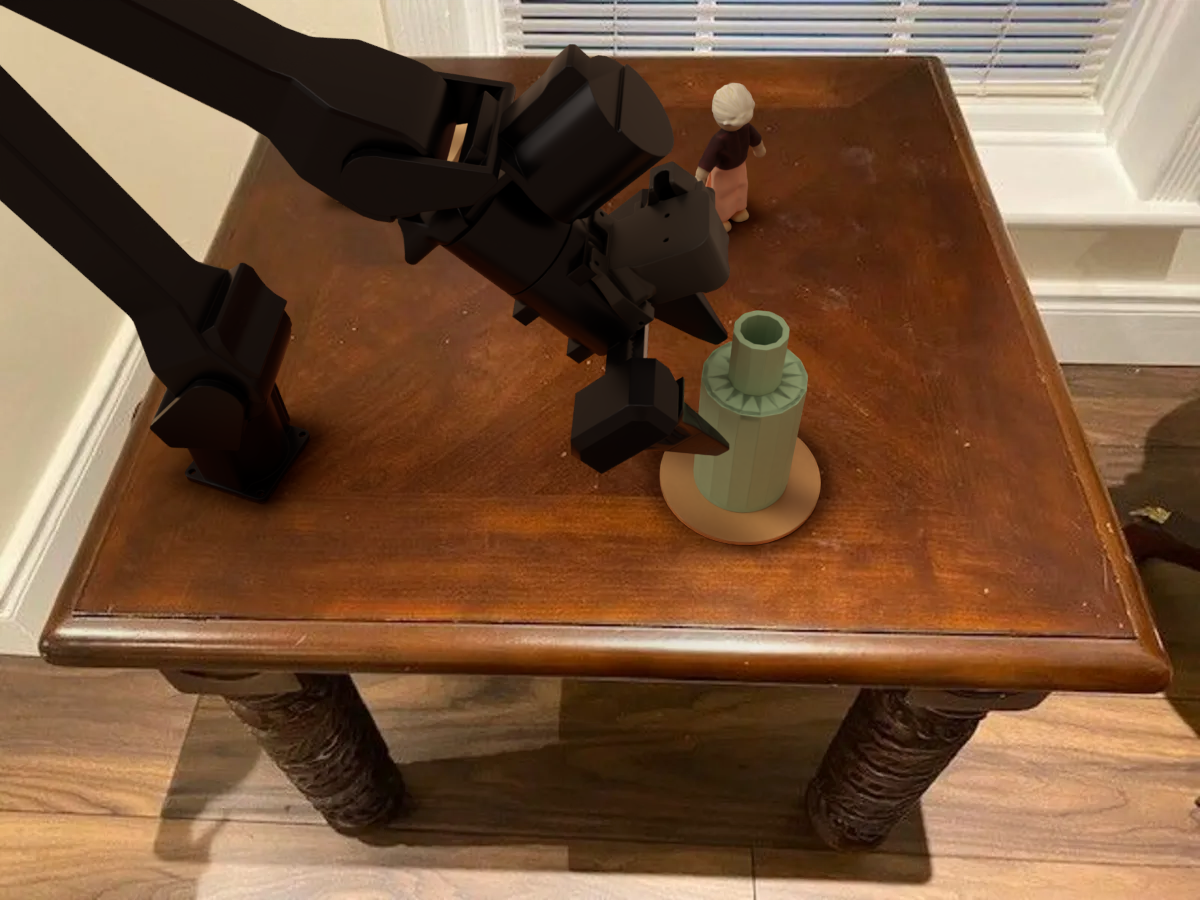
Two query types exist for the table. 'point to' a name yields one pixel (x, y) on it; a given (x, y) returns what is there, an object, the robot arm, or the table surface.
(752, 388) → the bottle
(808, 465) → the mat
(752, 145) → the grandmother figurine
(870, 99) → the table surface
